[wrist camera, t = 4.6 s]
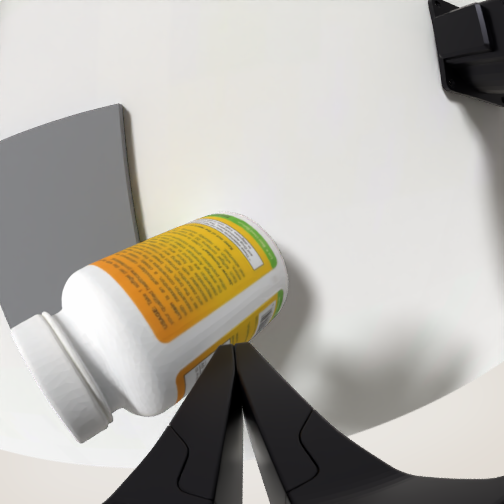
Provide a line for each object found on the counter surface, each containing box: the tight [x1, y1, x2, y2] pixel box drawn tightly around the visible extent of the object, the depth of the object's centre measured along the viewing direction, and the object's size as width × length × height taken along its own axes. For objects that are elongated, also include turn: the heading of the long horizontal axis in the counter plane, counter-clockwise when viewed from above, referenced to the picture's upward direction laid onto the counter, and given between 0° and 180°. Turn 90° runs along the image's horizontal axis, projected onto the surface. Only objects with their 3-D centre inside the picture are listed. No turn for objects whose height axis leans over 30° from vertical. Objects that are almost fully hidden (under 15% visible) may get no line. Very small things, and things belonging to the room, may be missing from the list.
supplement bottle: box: [11, 212, 288, 443], centre depth 10 cm, size 5×5×10 cm
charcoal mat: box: [0, 104, 140, 329], centre depth 14 cm, size 11×16×1 cm
